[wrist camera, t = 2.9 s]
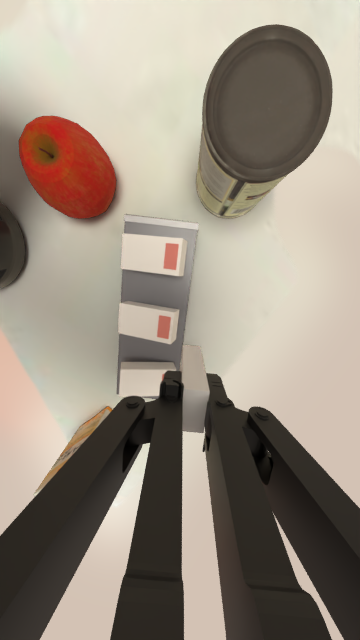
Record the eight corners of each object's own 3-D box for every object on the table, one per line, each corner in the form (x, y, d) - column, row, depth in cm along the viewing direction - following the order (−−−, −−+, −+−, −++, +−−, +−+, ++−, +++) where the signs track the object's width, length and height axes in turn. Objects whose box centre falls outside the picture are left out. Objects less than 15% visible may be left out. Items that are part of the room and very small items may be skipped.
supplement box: (108, 404, 40) (71, 467, 27) (124, 421, 41) (96, 490, 28) (78, 426, 41) (30, 495, 29) (95, 441, 42) (55, 516, 29)
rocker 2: (126, 328, 32) (117, 333, 29) (128, 300, 30) (118, 303, 28) (175, 339, 30) (170, 344, 27) (179, 309, 29) (174, 312, 26)
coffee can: (235, 121, 28) (281, -18, 15) (280, 182, 30) (359, 109, 16) (180, 179, 30) (176, 104, 17) (225, 233, 32) (255, 207, 18)
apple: (51, 144, 30) (-20, 79, 19) (121, 148, 29) (88, 84, 19) (57, 221, 32) (-2, 199, 22) (122, 225, 32) (93, 204, 22)
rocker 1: (129, 269, 29) (120, 268, 27) (131, 236, 28) (121, 233, 26) (183, 276, 27) (178, 276, 25) (187, 241, 26) (182, 238, 24)
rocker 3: (119, 387, 32) (118, 397, 29) (121, 361, 31) (120, 370, 28) (170, 386, 34) (173, 396, 31) (173, 362, 33) (176, 370, 30)
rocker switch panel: (123, 381, 39) (114, 397, 34) (131, 220, 32) (122, 212, 27) (176, 387, 39) (175, 404, 34) (197, 228, 32) (199, 221, 27)
